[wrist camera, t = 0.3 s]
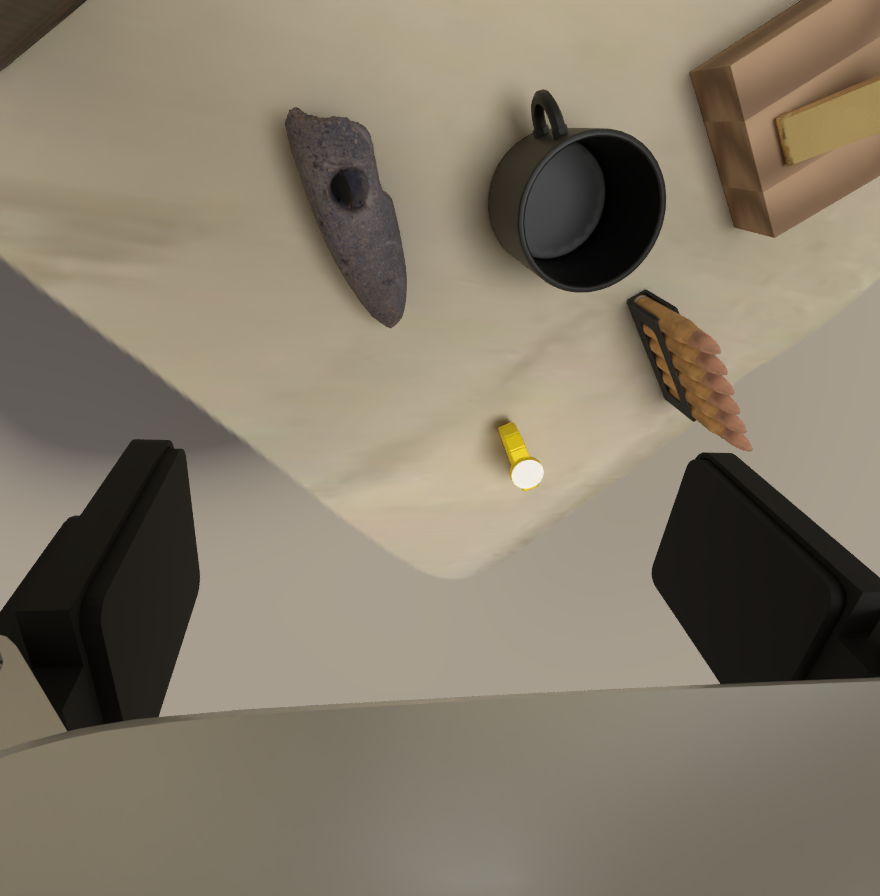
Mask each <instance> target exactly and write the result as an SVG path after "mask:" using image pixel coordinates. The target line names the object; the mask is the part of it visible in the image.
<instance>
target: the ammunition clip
mask: <svg viewBox="0 0 880 896" xmlns="http://www.w3.org/2000/svg"><path fill="white" fill-rule="evenodd" d="M627 304H628V307H629V309H630V312H631V314H632V317H633V319H634V322H635V324H636V327H637V329H638V332H639V335H640V337H641V340H642V342H643V345H644V347H645V350H646V352H647V355H648V357H649V360H650V362H651V365H652V367H653V370H654V372H655V375H656V377H657V380H658V382H659V385H660V387H661V390H662V392H663V395H664V397H665V399H666V400H667V401H668V402H669V403H671V404H672V405H673V406H674V407H676V408H677V409H678V410H679V411H681V412H682V413H683V414H684V415H685V416H687V417H688V418H689V419H690V420H692V421H693V422H694V421H696V420H697V421H698V422H700V423H701V424H702V425H703V426H704V427H706V428H707V429H708V430H709V431H711V432H712V433H714V434H717V435H718V436H720V437H721V438H723V439H725V440H726V441H727V442H728V443H730V444H731V445H733V446H735V447H737V448H739V449H741V450H744V451H752V446H751V444H750V442H749V441H748V439H747V438H746V437H745V436H744V435H743V434H742V433H746V428H745V426H744V424H743V422H742V421H741V420H740V419H739V417H738V416H736V414H739V413H740V409H739V407H738V405H737V403H736V402H735V401H734V400H733V399H732V398H731V397H730V396H729V395H733V394H734V390H733V388H732V386H731V385H730V383H729V382H728V381H727V380H726V379H725V378H724V377H723V376H722V375H727V373H728V372H727V369H726V367H725V365H724V364H723V363H722V362H721V360H720V359H718V358H717V357H716V356H715V355H714V354H720V353H721V350H720V347H719V345H718V344H717V343H716V342H715V340H714V339H713V338H711V337H710V336H709V335H708V334H706V333H704V332H703V331H702V330H701V329H699V328H698V327H697V326H696V325H695V324H694V323H693V322H692V321H690V320H688V319H687V318H685V317H683V316H681V315H680V314H679V312H678V309H677V308H676V307H675V306H673V305H671V304H670V303H668V302H666V301H665V300H663V299H661V298H660V297H658V296H656V295H654V294H653V293H651V292H649V291H648V290H644V291H643V292H641V293H639V294H637V295H636V296H634V297H632V298H631V299H629V300H627Z"/></svg>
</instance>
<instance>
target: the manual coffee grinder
mask: <svg viewBox="0 0 880 896" xmlns="http://www.w3.org/2000/svg"><path fill="white" fill-rule="evenodd" d="M85 1H86V0H0V70H1V69H3V68H5V67H6V66H8V65H9V64H10V63H11V62H13V61H14V60H15V59H16V58H17V57H19V56H20V55H21V54H22V53H24V52H25V51H26V50H27V49H28V48H30V47H31V46H32V45H33V44H35V43H36V42H37V41H38V40H39V39H41V38H42V37H43V36H44V35H46V34H47V33H48V32H49V31H50V30H52V29H53V28H54V27H55V26H56V25H58V24H59V23H60V22H61V21H63V20H64V19H65V18H66V17H67V16H69V15H70V14H71V13H72V12H73V11H75V10H76V9H77V8H78V7H79V6H80V5H82V4H83V3H84V2H85Z"/></svg>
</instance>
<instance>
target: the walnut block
mask: <svg viewBox="0 0 880 896" xmlns="http://www.w3.org/2000/svg"><path fill="white" fill-rule="evenodd" d="M690 75H691V78H692V82H693V85H694V89H695V92H696V95H697V99H698V102H699V106H700V109H701V113H702V116H703V120H704V123H705V127H706V130H707V133H708V137H709V140H710V144H711V147H712V151H713V154H714V158H715V161H716V165H717V168H718V171H719V175H720V178H721V182H722V185H723V189H724V192H725V196H726V199H727V203H728V206H729V209H730V213H731V216H732V220H733V223H734V227H735V228H739V229H743V230H747V231H751V232H754V233H758V234H762V235H766V236H770V237H774V238H775V237H777V236H778V235H780V234H782V233H783V232H785V231H787V230H788V229H790V228H792V227H794V226H795V225H797V224H799V223H800V222H802V221H804V220H805V219H807V218H809V217H811V216H812V215H814V214H816V213H817V212H819V211H821V210H822V209H824V208H826V207H828V206H829V205H831V204H833V203H834V202H836V201H838V200H839V199H841V198H843V197H844V196H846V195H848V194H850V193H851V192H853V191H855V190H856V189H858V188H860V187H861V186H863V185H865V184H867V183H868V182H870V181H872V180H873V179H875V178H877V177H878V176H880V133H878V134H875V135H872V136H869V137H867V138H864V139H861V140H858V141H856V142H853V143H850V144H848V145H845V146H842V147H839V148H837V149H834V150H831V151H828V152H826V153H823V154H820V155H817V156H815V157H812V158H809V159H806V160H804V161H802V162H800V163H799V164H797V165H794V166H791V167H787V166H786V162H785V158H784V154H783V149H782V145H781V141H780V136H779V132H778V128H777V123H776V118H777V117H778V116H779V115H781V114H783V113H785V112H788V111H794V110H796V109H799V108H801V107H804V106H806V105H808V104H811V103H813V102H816V101H818V100H820V99H823V98H825V97H828V96H830V95H832V94H835V93H837V92H840V91H842V90H844V89H847V88H849V87H852V86H854V85H856V84H859V83H861V82H864V81H866V80H869V79H871V78H873V77H876V76H878V75H880V0H801V1H800V2H798V3H796V4H795V5H793V6H792V7H790V8H789V9H787V10H786V11H784V12H782V13H781V14H779V15H778V16H776V17H775V18H773V19H772V20H770V21H769V22H767V23H765V24H764V25H762V26H761V27H759V28H758V29H756V30H755V31H753V32H751V33H750V34H748V35H747V36H745V37H744V38H742V39H741V40H739V41H738V42H736V43H734V44H733V45H731V46H730V47H728V48H727V49H725V50H724V51H722V52H720V53H719V54H717V55H716V56H714V57H713V58H711V59H710V60H708V61H707V62H705V63H703V64H702V65H700V66H699V67H697V68H696V69H694V70H693V71H691V72H690Z"/></svg>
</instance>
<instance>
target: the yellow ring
mask: <svg viewBox="0 0 880 896" xmlns="http://www.w3.org/2000/svg"><path fill="white" fill-rule="evenodd" d="M498 430H499V434H500V436H501V439H502V442H503V445H504V447H505V450H506V453H507V456H508V459H509V461H510V464H511V468H510V472H509V474H510V478H511V480H512V482H513V484H514V485H516V486H517V487H519V488H521V489H522V490H523V491H527V490H530V489H532V488H535V487H538V485H539V484H538V483H539V482H540V481H541V479H542V478H543V474H544V471H543V467H542V465H541V463H540V462H539V461H538V460H537V459H536V458H533V457H530V456H529V454H528V451H527V449H526V447H525V444H524V442H523V439H522V437H521V435H520V433H519V431H518V429H517V427H516V425H515V424H514V423H513V422H510V423H508V424H505V425H503V426H500V427H499V428H498Z"/></svg>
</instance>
